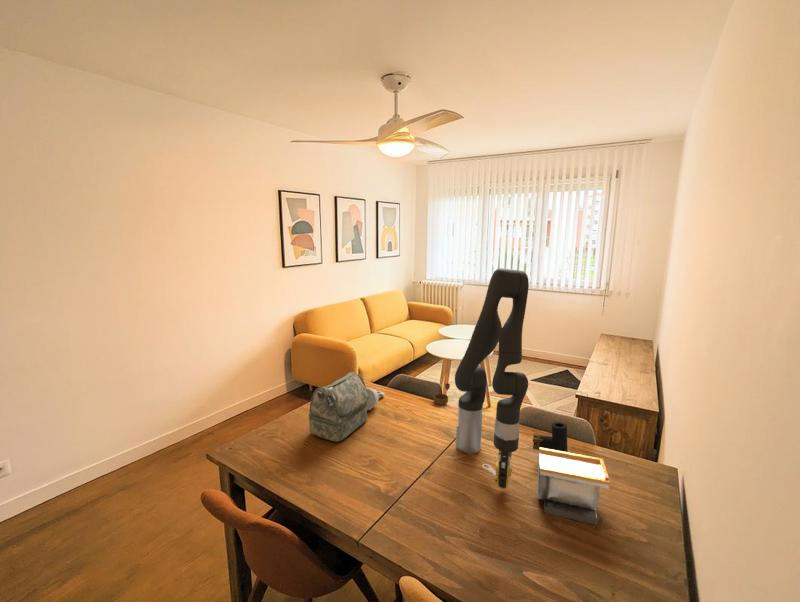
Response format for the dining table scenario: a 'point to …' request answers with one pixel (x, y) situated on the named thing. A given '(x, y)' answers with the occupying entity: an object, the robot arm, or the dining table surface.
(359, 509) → the dining table surface
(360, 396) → the lunch bag
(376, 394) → the engine component
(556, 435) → the pipe connector
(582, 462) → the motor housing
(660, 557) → the dining table surface
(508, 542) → the dining table surface
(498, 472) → the pressure relief valve
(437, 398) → the place setting
